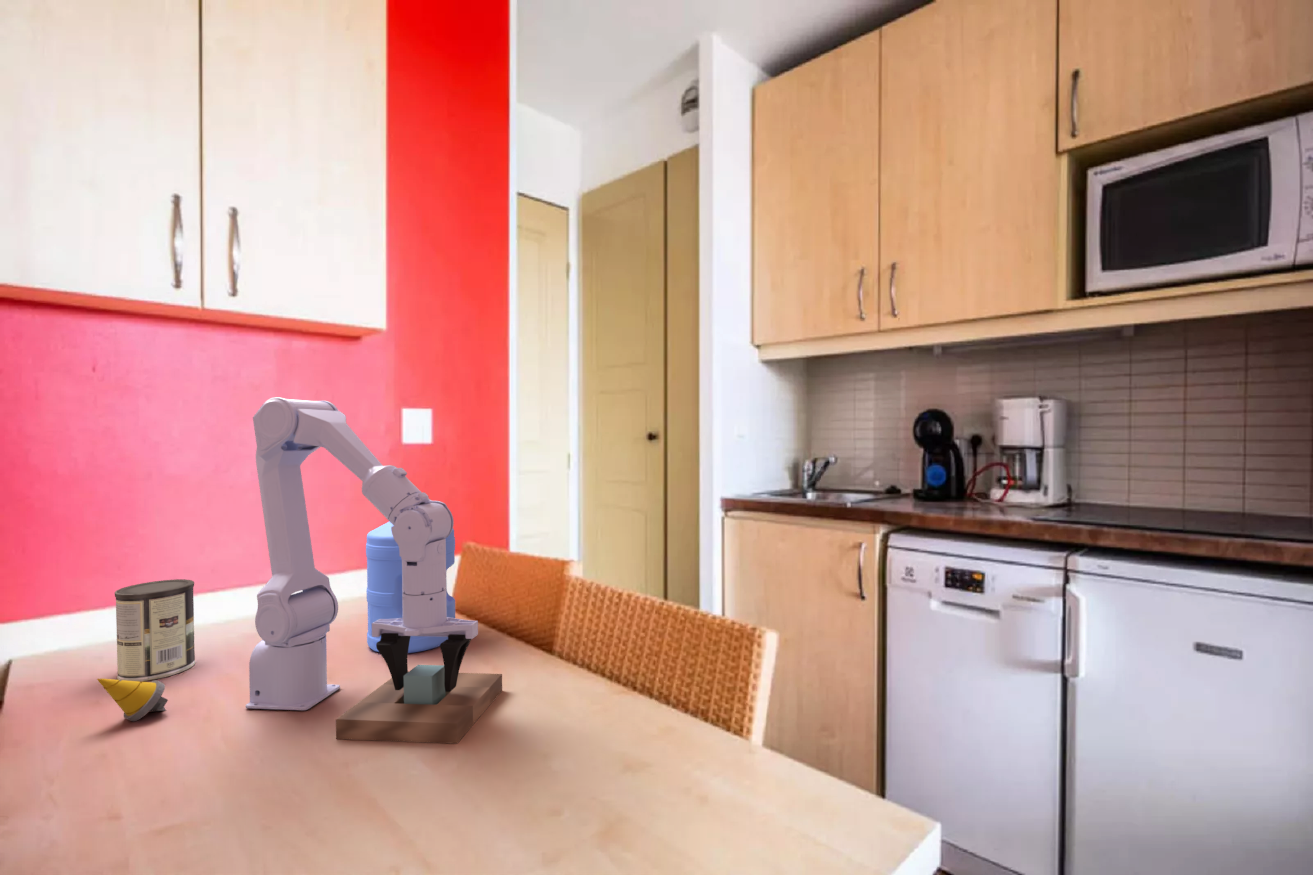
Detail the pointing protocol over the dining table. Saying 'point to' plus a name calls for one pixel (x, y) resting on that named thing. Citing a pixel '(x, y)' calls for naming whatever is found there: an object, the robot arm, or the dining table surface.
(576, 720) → the dining table surface
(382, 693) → the block with rectangular hole
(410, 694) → the pale blue box
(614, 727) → the dining table surface
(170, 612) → the coffee can
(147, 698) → the drill bit
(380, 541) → the water jug
